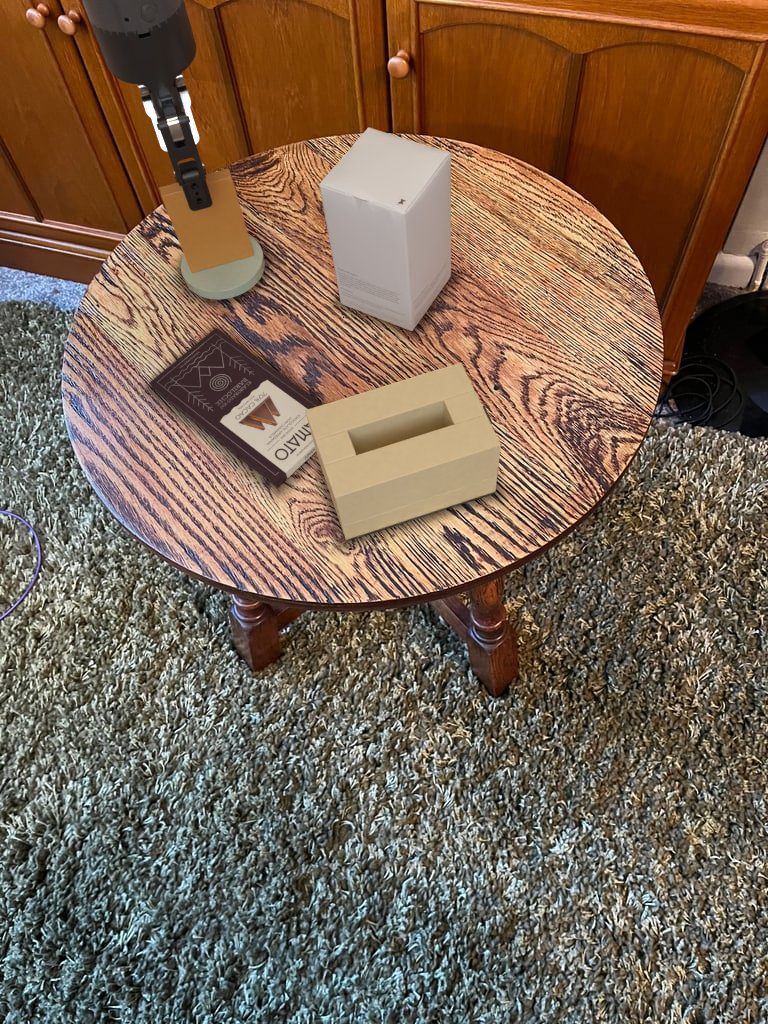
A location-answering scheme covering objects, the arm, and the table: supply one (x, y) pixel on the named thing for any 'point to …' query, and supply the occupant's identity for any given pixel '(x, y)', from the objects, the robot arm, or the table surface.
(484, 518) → the table surface
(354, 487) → the toaster
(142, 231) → the table surface
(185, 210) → the toast
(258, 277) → the plate
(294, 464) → the chocolate bar
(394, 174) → the white product box
